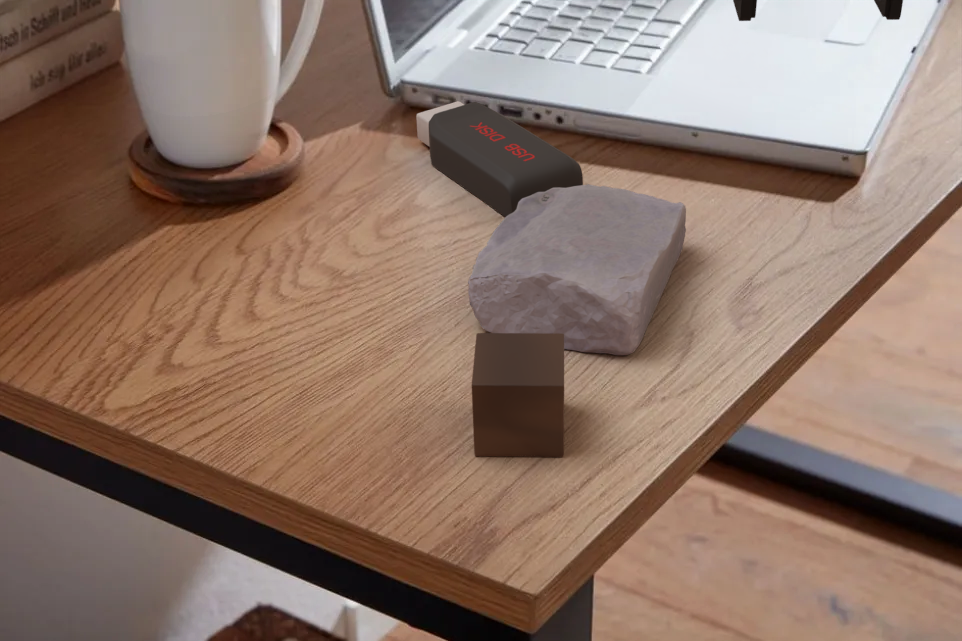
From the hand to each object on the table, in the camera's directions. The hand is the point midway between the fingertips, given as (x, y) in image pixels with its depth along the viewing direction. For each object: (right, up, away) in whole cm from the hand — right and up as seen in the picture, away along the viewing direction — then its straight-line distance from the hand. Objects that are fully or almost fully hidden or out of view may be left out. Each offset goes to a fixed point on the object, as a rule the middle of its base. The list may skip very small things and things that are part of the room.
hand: (814, 6), depth 62 cm
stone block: (-10, -13, +9) cm, 19 cm away
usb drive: (-15, -5, +21) cm, 26 cm away
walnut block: (-14, -20, 0) cm, 24 cm away
